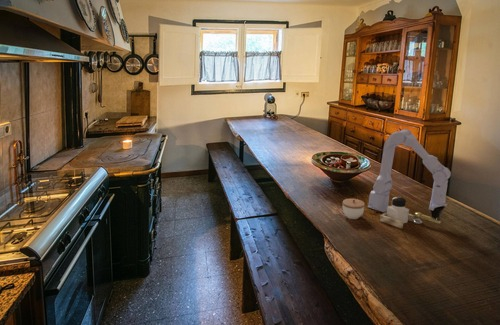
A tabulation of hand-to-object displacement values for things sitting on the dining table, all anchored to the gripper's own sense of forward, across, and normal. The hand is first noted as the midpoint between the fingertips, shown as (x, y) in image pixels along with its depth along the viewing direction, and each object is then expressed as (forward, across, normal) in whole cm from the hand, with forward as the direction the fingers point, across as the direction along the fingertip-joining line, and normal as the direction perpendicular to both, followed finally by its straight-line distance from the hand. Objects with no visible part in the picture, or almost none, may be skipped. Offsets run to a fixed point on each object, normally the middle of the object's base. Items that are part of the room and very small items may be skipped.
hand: (434, 219), depth 165 cm
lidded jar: (+3, -21, +32) cm, 38 cm away
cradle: (+3, -9, +14) cm, 17 cm away
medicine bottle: (+3, -9, +14) cm, 17 cm away
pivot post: (+3, -3, +7) cm, 8 cm away
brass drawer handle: (0, -3, +2) cm, 4 cm away
